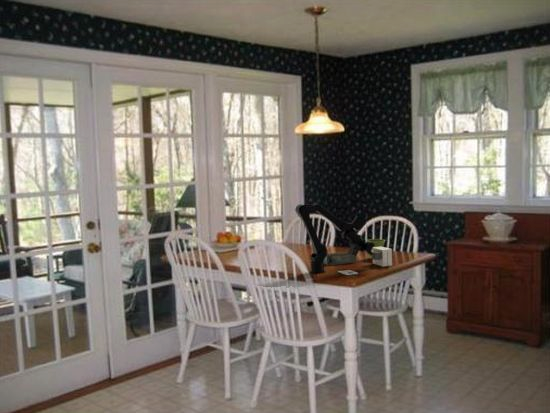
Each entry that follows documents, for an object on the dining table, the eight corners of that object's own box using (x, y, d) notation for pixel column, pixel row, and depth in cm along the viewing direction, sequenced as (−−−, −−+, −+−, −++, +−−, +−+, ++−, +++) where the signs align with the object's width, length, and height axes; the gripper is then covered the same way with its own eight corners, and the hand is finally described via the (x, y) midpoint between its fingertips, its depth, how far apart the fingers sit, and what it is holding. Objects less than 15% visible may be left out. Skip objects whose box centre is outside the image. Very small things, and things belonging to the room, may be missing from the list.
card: (346, 275, 303) (346, 273, 303) (338, 271, 312) (337, 270, 312) (358, 273, 306) (358, 272, 306) (349, 270, 315) (349, 269, 315)
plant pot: (385, 260, 343) (385, 241, 342) (365, 260, 345) (365, 241, 344) (385, 256, 354) (385, 238, 353) (366, 256, 357) (366, 238, 356)
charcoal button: (375, 260, 322) (375, 253, 322) (372, 259, 326) (372, 252, 325) (382, 259, 324) (382, 252, 324) (379, 258, 327) (378, 251, 327)
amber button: (370, 258, 327) (370, 251, 327) (367, 257, 331) (367, 250, 330) (377, 257, 329) (377, 250, 329) (374, 256, 332) (373, 250, 332)
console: (383, 266, 323) (382, 250, 322) (372, 263, 333) (372, 247, 333) (392, 265, 325) (391, 249, 325) (381, 262, 336) (381, 246, 335)
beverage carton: (322, 263, 340) (321, 252, 339) (351, 261, 345) (351, 250, 345) (327, 265, 332) (326, 254, 332) (357, 263, 338) (356, 252, 337)
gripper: (337, 246, 325) (354, 263, 330) (353, 250, 308) (371, 268, 313) (348, 231, 327) (366, 248, 332) (365, 234, 310) (383, 252, 315)
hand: (371, 254), depth 323 cm, fingers closed
